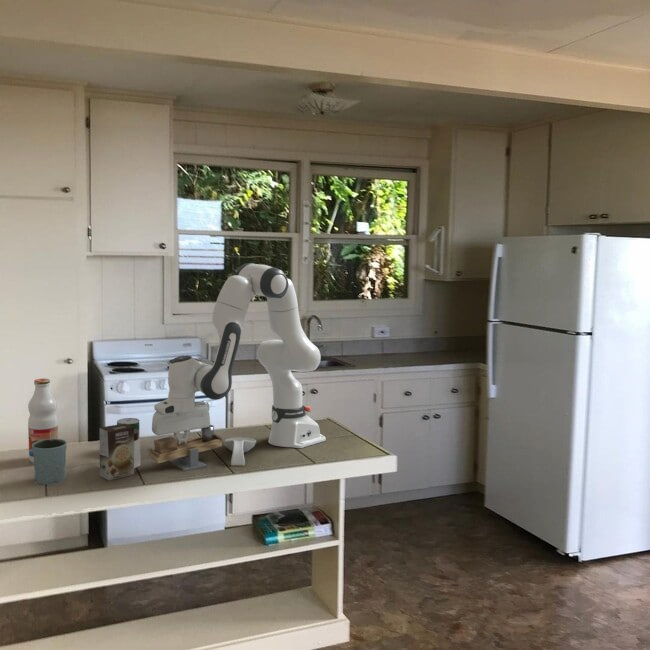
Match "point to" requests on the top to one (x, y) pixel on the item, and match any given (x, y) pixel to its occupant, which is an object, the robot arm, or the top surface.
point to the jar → (136, 448)
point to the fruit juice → (42, 415)
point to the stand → (189, 461)
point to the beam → (185, 449)
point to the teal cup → (49, 460)
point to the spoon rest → (239, 449)
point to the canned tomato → (130, 422)
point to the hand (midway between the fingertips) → (181, 443)
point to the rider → (165, 445)
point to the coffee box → (116, 451)
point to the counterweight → (207, 433)
